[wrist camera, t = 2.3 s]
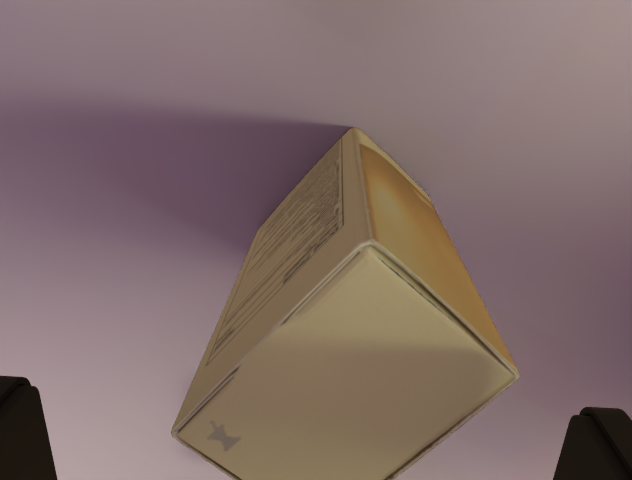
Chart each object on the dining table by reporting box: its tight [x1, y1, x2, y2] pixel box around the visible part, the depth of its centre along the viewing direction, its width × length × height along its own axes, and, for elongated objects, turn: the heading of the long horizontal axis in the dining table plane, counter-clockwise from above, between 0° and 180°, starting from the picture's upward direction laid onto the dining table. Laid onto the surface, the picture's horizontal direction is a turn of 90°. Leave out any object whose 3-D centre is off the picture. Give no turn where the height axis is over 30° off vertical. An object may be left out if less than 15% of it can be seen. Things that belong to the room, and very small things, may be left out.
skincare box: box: [171, 128, 519, 480], centre depth 16 cm, size 6×4×12 cm
